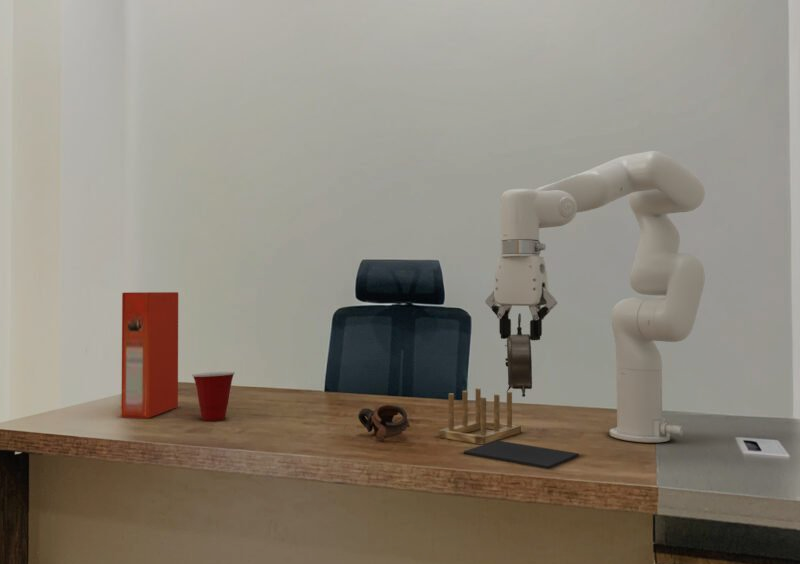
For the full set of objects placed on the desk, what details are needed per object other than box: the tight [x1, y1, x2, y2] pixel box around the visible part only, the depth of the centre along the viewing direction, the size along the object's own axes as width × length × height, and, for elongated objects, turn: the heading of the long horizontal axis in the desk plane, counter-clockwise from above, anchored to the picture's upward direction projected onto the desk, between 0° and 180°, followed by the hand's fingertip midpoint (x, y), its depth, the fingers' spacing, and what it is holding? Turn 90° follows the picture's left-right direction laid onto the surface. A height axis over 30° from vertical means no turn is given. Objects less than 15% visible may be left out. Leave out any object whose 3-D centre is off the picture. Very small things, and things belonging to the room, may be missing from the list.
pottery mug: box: [357, 403, 410, 442], centre depth 159 cm, size 12×10×8 cm
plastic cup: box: [191, 371, 235, 422], centre depth 180 cm, size 11×11×12 cm
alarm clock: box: [504, 313, 533, 398], centre depth 144 cm, size 11×5×16 cm, turn 166°
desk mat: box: [463, 440, 580, 470], centre depth 143 cm, size 18×14×1 cm
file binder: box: [120, 291, 179, 419], centre depth 190 cm, size 8×17×32 cm, turn 168°
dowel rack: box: [438, 387, 522, 445], centre depth 163 cm, size 11×18×10 cm, turn 139°
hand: (520, 338), depth 144 cm, fingers closed on alarm clock, 5 cm apart
